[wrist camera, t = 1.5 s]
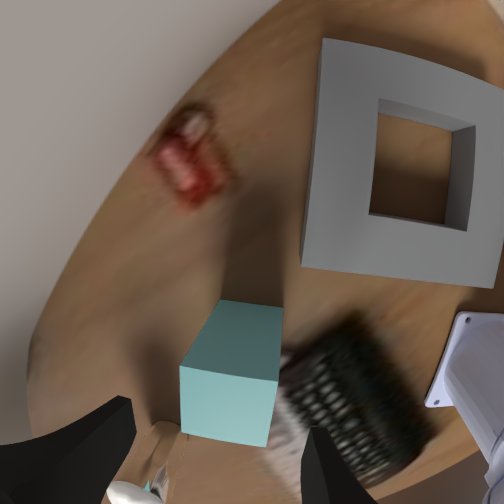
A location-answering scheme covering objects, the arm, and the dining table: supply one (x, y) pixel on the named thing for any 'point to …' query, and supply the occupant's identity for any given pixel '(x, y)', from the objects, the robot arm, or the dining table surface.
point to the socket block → (362, 166)
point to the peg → (232, 374)
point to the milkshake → (151, 467)
